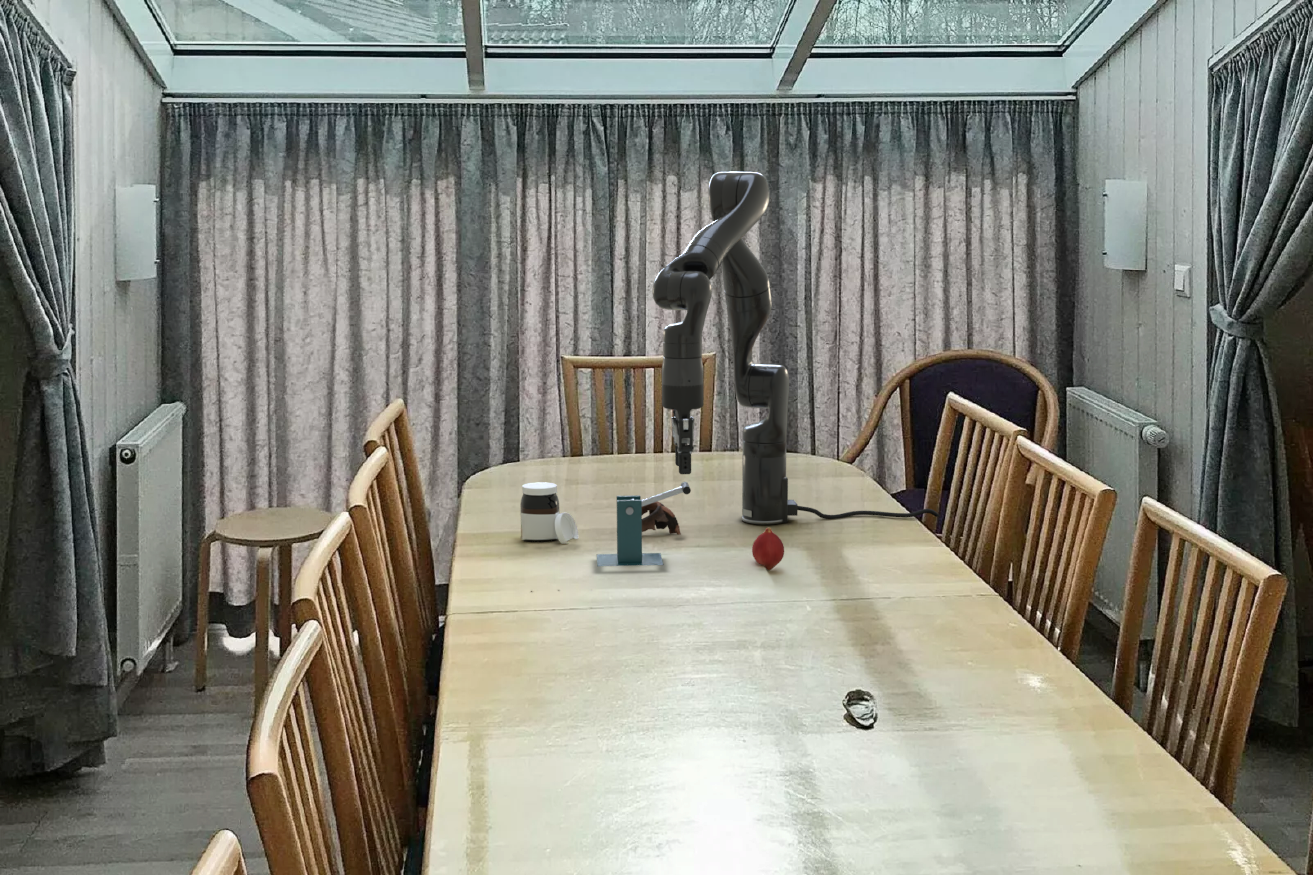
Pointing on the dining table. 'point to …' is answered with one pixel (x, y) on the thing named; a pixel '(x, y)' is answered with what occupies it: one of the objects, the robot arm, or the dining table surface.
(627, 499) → the bracket
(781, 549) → the onion
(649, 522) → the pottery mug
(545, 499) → the spread jar
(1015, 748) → the dining table surface
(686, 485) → the lever
